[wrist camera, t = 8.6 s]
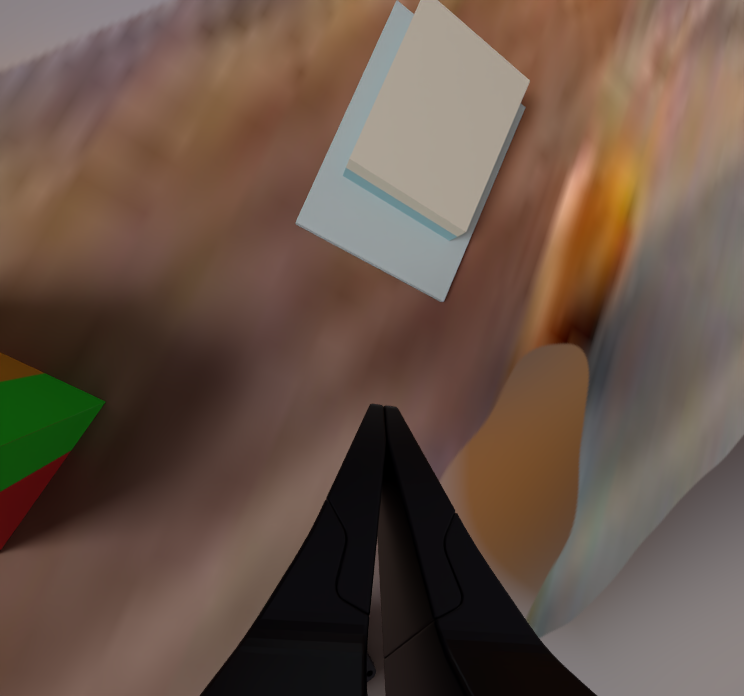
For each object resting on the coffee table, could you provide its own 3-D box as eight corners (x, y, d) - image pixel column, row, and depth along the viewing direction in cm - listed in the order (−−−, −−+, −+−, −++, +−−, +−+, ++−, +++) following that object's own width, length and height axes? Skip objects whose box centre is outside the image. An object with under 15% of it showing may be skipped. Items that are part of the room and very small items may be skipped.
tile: (465, 232, 21) (529, 80, 22) (349, 158, 19) (425, -11, 19) (449, 240, 23) (508, 102, 24) (342, 175, 21) (411, 23, 21)
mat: (441, 302, 24) (443, 301, 23) (295, 224, 20) (295, 222, 20) (521, 110, 25) (525, 107, 24) (394, 6, 21) (396, 0, 21)
